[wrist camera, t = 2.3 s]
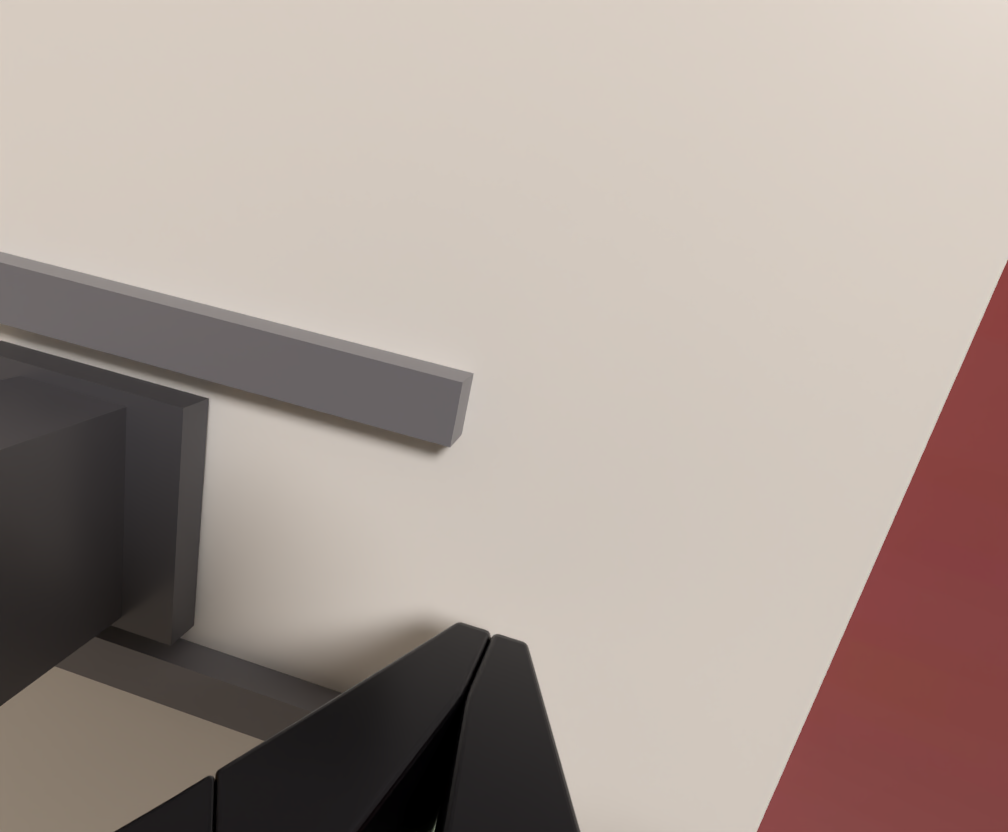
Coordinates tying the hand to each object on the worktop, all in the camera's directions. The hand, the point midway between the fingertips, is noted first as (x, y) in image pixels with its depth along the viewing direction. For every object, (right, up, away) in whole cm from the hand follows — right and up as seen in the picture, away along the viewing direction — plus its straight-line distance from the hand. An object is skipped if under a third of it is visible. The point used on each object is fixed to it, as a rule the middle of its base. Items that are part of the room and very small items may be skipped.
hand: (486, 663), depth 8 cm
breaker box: (-5, +3, +5) cm, 7 cm away
